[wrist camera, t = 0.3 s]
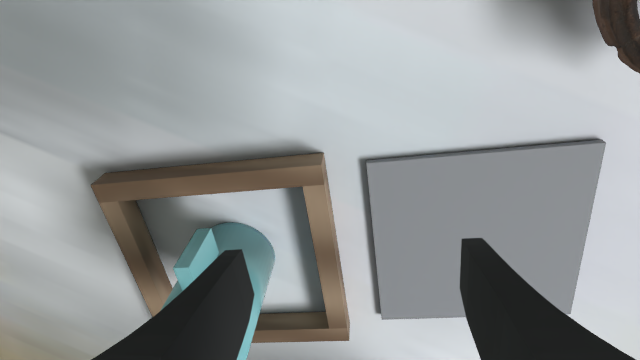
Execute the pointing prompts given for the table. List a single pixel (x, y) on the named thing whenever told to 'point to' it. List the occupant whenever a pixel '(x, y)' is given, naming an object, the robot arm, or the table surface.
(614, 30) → the brown looped knot
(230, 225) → the teal jug
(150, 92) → the table surface
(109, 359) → the robot arm
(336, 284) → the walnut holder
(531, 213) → the gray mat
